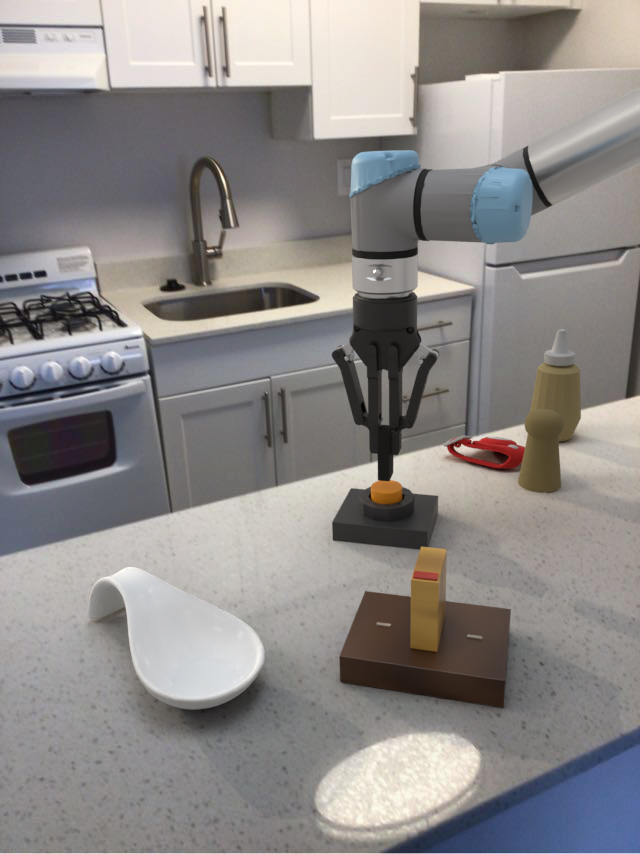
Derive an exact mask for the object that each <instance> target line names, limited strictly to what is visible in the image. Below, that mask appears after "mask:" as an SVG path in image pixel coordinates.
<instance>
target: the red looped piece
mask: <svg viewBox="0 0 640 854" xmlns="http://www.w3.org/2000/svg"><path fill="white" fill-rule="evenodd" d="M462 446H464V447H467V448H470V449H476V450H483V451H488V452H496V453H500V454H503V455H505V456H507V457H508V458H507V459H506V460H505V462H503V463H497V462H494V461H489V460H486V459H481V458H477V457H472V456H468V455H465V454H462V453H461V452H458V451H457V450H456V448H457V449H460V448H461V447H462ZM443 447H446V448H447V451H448V453H449V454H451V456H453V457H456V458H458V459H460V460H461V461H465V462H469V463H473V464H475V465H481V466H485V467H489V468H493V469H502V470H503V469H505V470H512V469H515V468H518V466H521V465H522V460H523V455H524V451H525V446H523V445H520V444H518V443H517V442H515V440H512V439H509V438H505V437H501V436H499V437H498V436H486V437H482V438H481V439H479V440H472V436H471V435H465V434H464V435H461V436H458V437H457V436H456V437H453V438H451V439H448V440H447V441H446V442H445V443H443Z"/></svg>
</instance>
